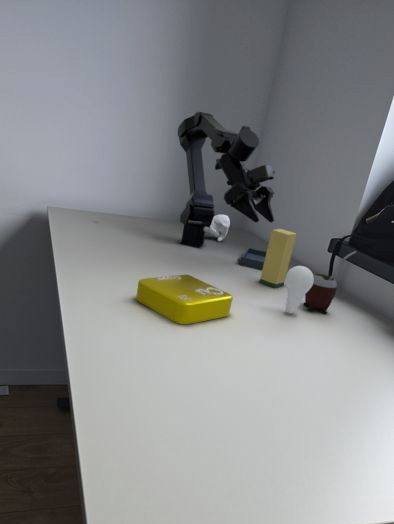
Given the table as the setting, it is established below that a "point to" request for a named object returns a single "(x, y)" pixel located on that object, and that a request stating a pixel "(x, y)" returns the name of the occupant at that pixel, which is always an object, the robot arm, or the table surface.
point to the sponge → (277, 257)
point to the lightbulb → (297, 286)
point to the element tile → (184, 298)
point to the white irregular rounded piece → (219, 226)
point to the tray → (253, 258)
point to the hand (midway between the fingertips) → (265, 221)
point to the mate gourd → (322, 290)
